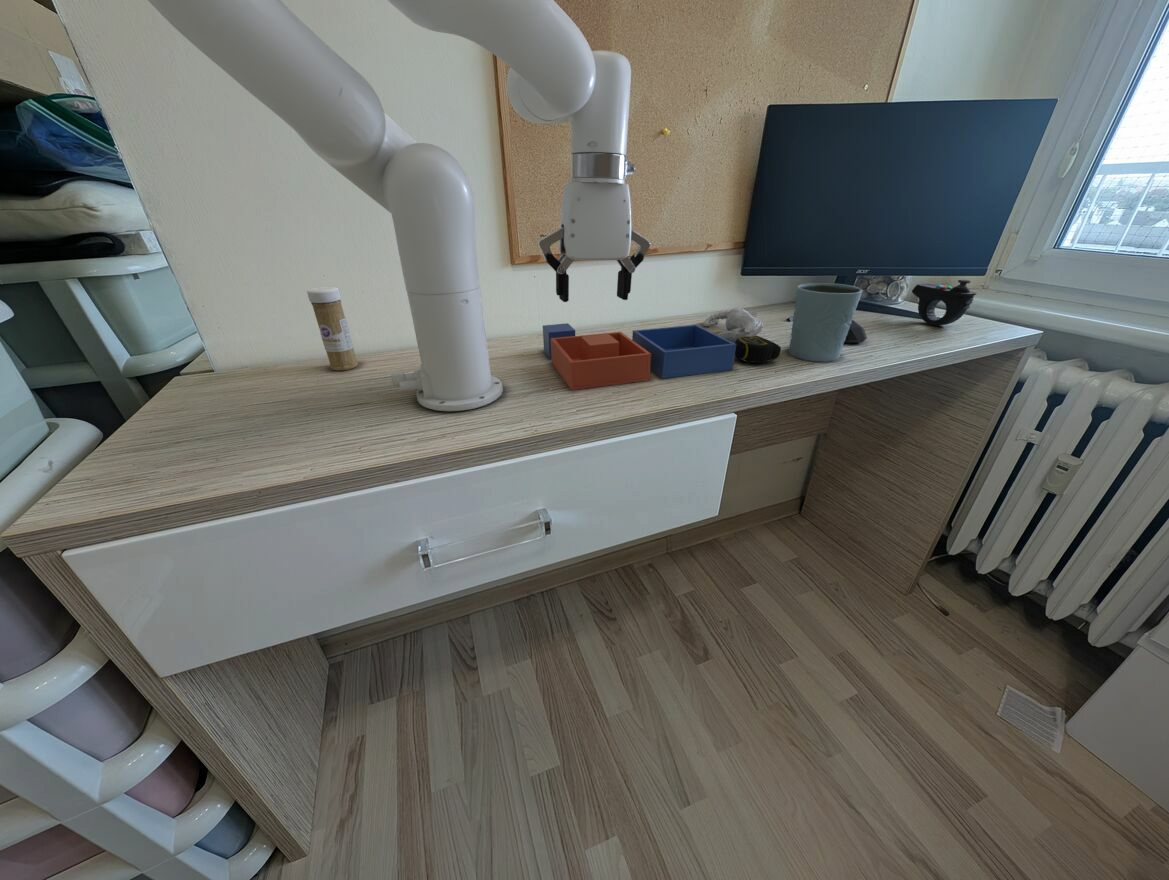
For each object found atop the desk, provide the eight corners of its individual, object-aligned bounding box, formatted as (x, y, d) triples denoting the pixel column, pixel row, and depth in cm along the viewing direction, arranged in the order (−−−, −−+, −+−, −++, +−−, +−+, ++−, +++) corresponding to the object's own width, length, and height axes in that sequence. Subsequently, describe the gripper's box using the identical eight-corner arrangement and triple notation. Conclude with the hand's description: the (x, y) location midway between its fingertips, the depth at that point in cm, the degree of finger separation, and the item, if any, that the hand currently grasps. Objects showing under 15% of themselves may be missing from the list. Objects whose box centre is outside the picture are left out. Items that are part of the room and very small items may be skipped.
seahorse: (682, 320, 99) (736, 330, 81) (724, 298, 100) (786, 303, 82) (688, 340, 101) (741, 355, 83) (729, 319, 103) (791, 329, 85)
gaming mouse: (818, 324, 99) (822, 306, 97) (872, 343, 87) (879, 323, 85) (795, 327, 97) (799, 308, 95) (847, 346, 85) (853, 326, 83)
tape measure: (780, 364, 77) (784, 343, 75) (747, 368, 75) (751, 347, 73) (755, 352, 82) (759, 332, 81) (724, 356, 81) (727, 336, 79)
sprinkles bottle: (326, 371, 75) (300, 291, 68) (338, 362, 79) (314, 285, 72) (352, 371, 75) (329, 290, 68) (363, 362, 79) (342, 285, 72)
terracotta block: (590, 374, 71) (590, 345, 69) (581, 364, 76) (581, 336, 73) (618, 371, 73) (619, 342, 70) (608, 361, 77) (608, 334, 74)
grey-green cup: (846, 365, 76) (868, 294, 70) (784, 359, 79) (800, 291, 73) (837, 348, 84) (856, 283, 78) (781, 343, 87) (795, 280, 81)
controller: (950, 331, 93) (970, 283, 88) (899, 318, 104) (914, 273, 99) (965, 329, 94) (986, 281, 90) (913, 316, 105) (929, 272, 100)
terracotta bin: (571, 390, 67) (570, 362, 65) (551, 362, 78) (550, 338, 76) (649, 380, 70) (651, 353, 68) (620, 355, 81) (620, 331, 79)
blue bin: (662, 378, 71) (664, 352, 69) (631, 354, 82) (632, 330, 80) (732, 369, 74) (736, 344, 72) (693, 347, 85) (696, 324, 83)
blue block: (549, 359, 80) (548, 332, 77) (543, 351, 84) (542, 325, 81) (575, 356, 81) (575, 330, 79) (568, 348, 85) (568, 323, 83)
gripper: (644, 175, 65) (635, 293, 74) (531, 170, 61) (534, 296, 69) (666, 173, 59) (653, 302, 67) (542, 167, 54) (544, 306, 63)
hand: (593, 299), depth 68 cm, fingers open, 9 cm apart
